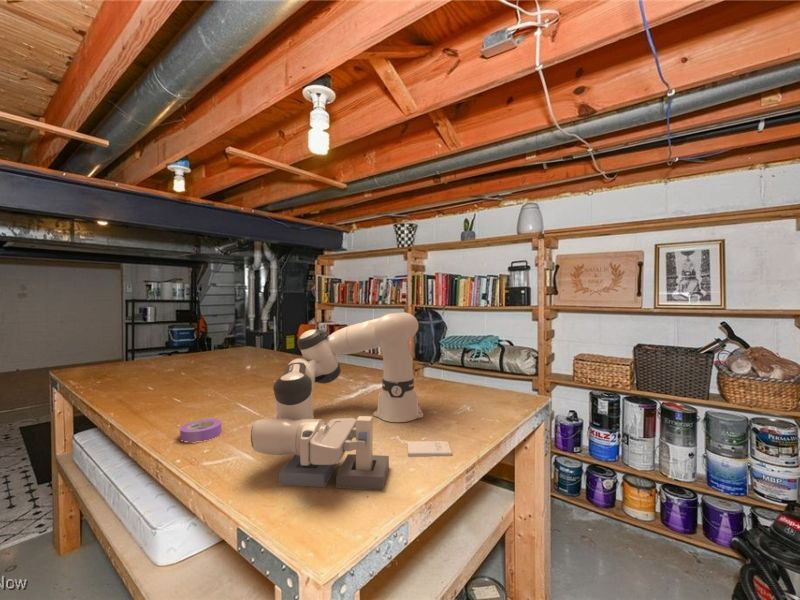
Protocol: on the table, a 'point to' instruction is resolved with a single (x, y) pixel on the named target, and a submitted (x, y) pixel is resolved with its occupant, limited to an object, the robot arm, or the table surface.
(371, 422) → the plug
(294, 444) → the robot arm
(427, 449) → the external hard drive
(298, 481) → the socket
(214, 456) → the table surface
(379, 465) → the socket
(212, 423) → the masking tape
